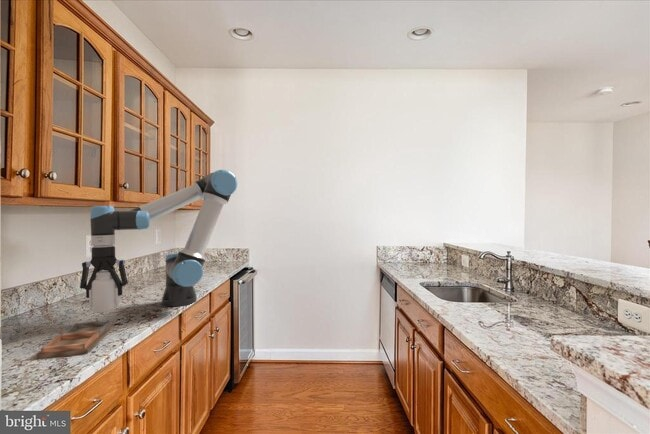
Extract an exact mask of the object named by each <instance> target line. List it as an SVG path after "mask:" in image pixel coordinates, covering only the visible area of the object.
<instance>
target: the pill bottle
mask: <svg viewBox="0 0 650 434" xmlns="http://www.w3.org/2000/svg"><path fill="white" fill-rule="evenodd" d="M96 276H97V277H96V279H95V280H94V281H93V282H92V288H91V289H92V307H91V309H92V313H94V314H103V313H109V312H112V311H115V310H117V309H118V305H115V288H116V287H117V285H116V283H115V282H114V280H113V278H112V276H111V274H110V273H109V272H108V270H106V271H105V270H102V271H99V272H97V273H96Z"/></svg>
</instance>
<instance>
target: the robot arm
mask: <svg viewBox="0 0 650 434" xmlns="http://www.w3.org/2000/svg"><path fill="white" fill-rule="evenodd" d="M237 187H238V179H237V178H236V176H235V174H234V173H233V172H231V171H229V169H228V170H227V169H218V170H215V171H214V172H210V173H208V174H206V175H205V176H204V177H202V178H200V179H198V180H196V181H194V182H192V185H189V186H187V187H185V188H182V189H180V190H177V191H175V192H172V193H170V194H167V195H165V196H163V197H159V198H158V199H157V198H156V199H155V200H152V201H150V202H148V203H145V204H142V205H140V206H138V207H135V208H132V209H130V210H118V211H117V210H115V208H114V206H112V205H95V206H92V207H91V208H90V238H91V239H90V240H91V242H90V243H91V244H90V245H91V246H92V247H91V251H90V252H91V260H90V261H84V262H82V263H81V267H82V273H81V278H80V285H79V288H80V289H82V290H85V294H86V295H85V296H86V299H88V302H89V307H88V308H92V282H93V281H94V280H95V279H97V278H96V277H97V276H96V273H97V272H99V271H108V272H109V273H110V274H111V276H112V278H113V280H114V282H115V283H116V285H117V287H116V288H115V305H117V306H118V305H119V304H120V303H121V298H120V297H122V295H123V292H124V291H123V287H125V286H126V285H128V277H127V273H126V268H125V264H126V261H125V259H117V257H116V247H115V245H116V238H115V237H116V235H115V234H116V233H115V231H121V230H122V231H127V230H129V231H130V230H139V231H141V230H146V229H148V228H149V227H150V222H151V221H153V220H156V219H158V218H160V217H162V216H164V215H168V214H169V213H172V212H174V211H176V210H178V209H181V208H183V207H185V206H188V205H191V204H193V203H195V202H198V201H199V200H201V201H202V203H201V206H200V209H199V212H198V214H197V216H196V219H195V221H194V223H193V226H192V228H191V231H190V233H189V236H188V238H187V240H186V243H185V245H184V248H182V249H180V250H179V251H178V252H177V253H169V254H167V255H166V257H165V289H164V291H163V294H162V297H161V305H162V306H165V307H182V306H187V305H191V304H194V303H196V302H197V300H198V297H197V293H196V290H195V288H194V286H195V285H197V284H198V283H199V282H200V281H201V280H202V278H203V275H204V268H203V267H204V265H205V262H206V257H205V252H206V250H207V248H208V245H209V242H210V240H211V238H212V236H213V235H212V234H213V232H214V230H215V227H216V224H217V222H218V220H219V217H220V214H221V212H222V210H223V208H224V205H226V204H229V203H228V202H229V201H230V199H231V196H232V194H234V192H235V191H236V190H237ZM115 264H116V265H117V266H118V269H119V275H120V277H119V275H118V274H117V271H116V268H115ZM91 266H93V268H94V269H93V270H92V273H91V276H90V278H89V272H90V267H91ZM88 279H89V280H88Z"/></svg>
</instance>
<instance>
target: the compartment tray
mask: <svg viewBox="0 0 650 434" xmlns="http://www.w3.org/2000/svg"><path fill="white" fill-rule="evenodd" d="M114 328H115V324H113V323H112V320H102V321H90V322H89V321H88V322H78V323H77V322H76V323H74V324H72V325H71V327H70V326H69V328H67V329H66V330H65V331H63V332H62V333H61V334H59V335H57V336H56V337H54V338H53V339H52V340H50V341H49V342H48V343H46V344H45V345H43V346H42V347H41V348H40V351H39V352H38V353H37V354H36V359H45V358H56V357H65V356H75V355H76V356H77V355H84V354H85V355H86V354H89V352H91V351H92V350H93V348H95V346H97V345H98V344H99V343H100V342H101V341H102V340H103V339H104V338H105V337H106V336H107V335H108V334H109V333H110V332H111V331H113V329H114Z"/></svg>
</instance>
